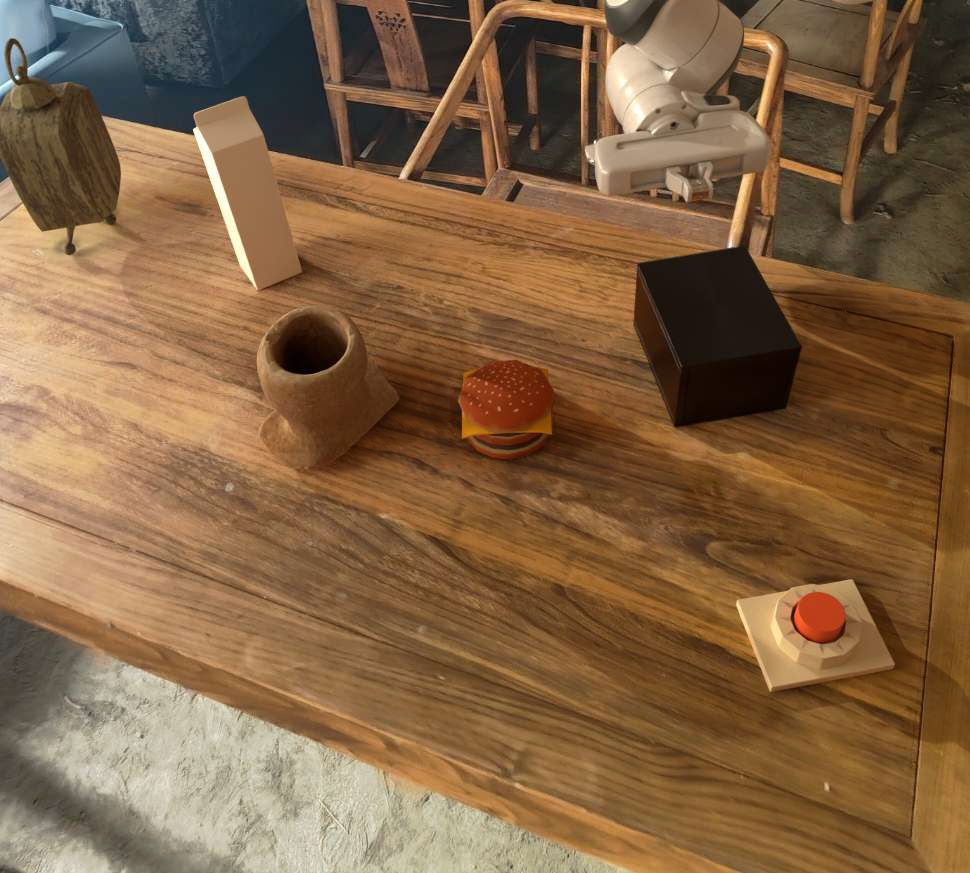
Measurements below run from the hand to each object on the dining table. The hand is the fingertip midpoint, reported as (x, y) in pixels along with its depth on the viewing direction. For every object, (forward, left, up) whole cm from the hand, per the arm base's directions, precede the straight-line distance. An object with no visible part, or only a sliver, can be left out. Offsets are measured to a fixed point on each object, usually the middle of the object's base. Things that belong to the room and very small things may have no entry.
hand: (700, 195), depth 103 cm
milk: (+50, -11, -9) cm, 52 cm away
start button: (+6, +50, -5) cm, 51 cm away
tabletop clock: (+73, -26, -9) cm, 78 cm away
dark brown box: (+4, +17, -9) cm, 20 cm away
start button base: (+6, +50, -9) cm, 52 cm away
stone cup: (+43, +17, -9) cm, 47 cm away
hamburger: (+26, +21, -9) cm, 35 cm away
